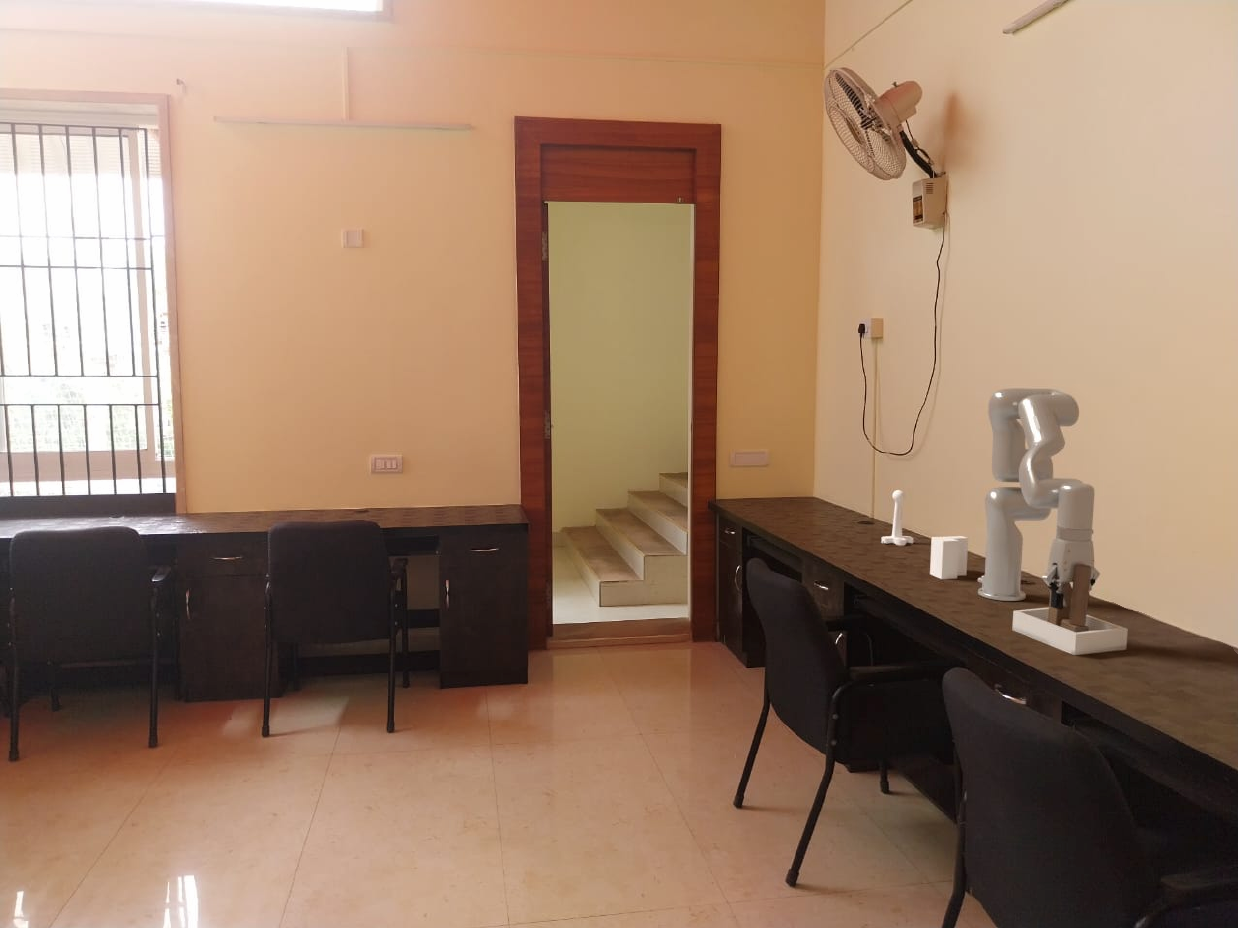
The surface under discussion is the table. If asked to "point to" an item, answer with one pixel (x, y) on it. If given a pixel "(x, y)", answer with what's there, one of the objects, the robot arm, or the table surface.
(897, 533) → the joystick
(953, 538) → the corner bracket
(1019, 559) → the robot arm
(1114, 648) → the tray
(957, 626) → the table surface
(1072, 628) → the brown rod with wedge
